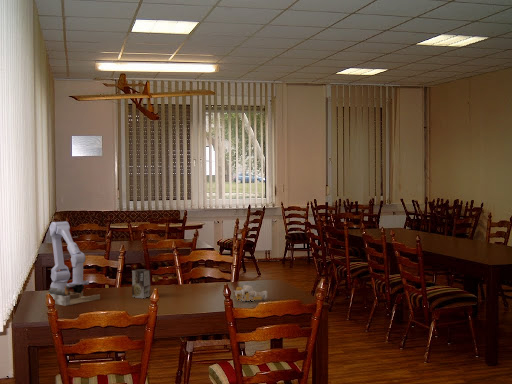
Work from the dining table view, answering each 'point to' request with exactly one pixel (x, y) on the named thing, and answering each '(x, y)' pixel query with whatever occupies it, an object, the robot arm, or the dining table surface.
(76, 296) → the beige square tray
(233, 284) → the dining table surface
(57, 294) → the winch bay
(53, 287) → the robot arm
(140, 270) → the coffee box
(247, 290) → the figure
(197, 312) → the dining table surface
